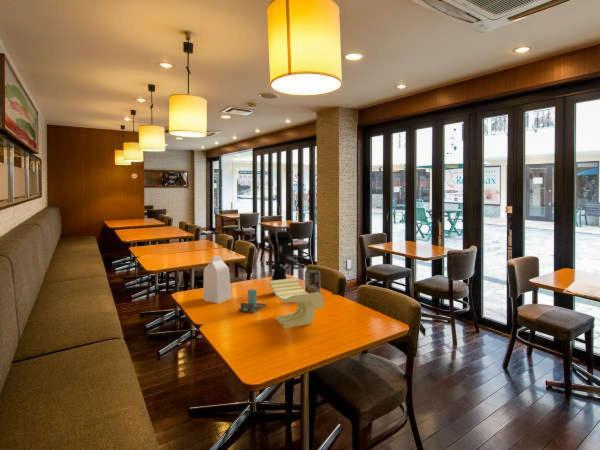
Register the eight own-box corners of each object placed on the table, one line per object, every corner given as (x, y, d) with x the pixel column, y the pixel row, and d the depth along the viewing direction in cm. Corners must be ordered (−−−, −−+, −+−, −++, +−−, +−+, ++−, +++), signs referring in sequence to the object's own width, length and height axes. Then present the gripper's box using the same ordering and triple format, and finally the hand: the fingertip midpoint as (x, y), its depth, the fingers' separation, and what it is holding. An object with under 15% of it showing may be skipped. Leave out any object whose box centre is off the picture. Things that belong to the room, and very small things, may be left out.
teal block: (250, 305, 204) (250, 289, 204) (256, 305, 203) (256, 289, 202) (241, 309, 196) (241, 293, 195) (248, 310, 195) (247, 294, 194)
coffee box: (320, 296, 226) (320, 270, 224) (320, 299, 219) (320, 272, 218) (305, 295, 226) (305, 269, 225) (304, 298, 220) (304, 272, 219)
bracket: (252, 303, 211) (251, 296, 211) (265, 305, 208) (265, 298, 207) (238, 311, 198) (238, 303, 198) (253, 313, 195) (253, 305, 194)
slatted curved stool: (323, 328, 172) (323, 291, 170) (292, 334, 166) (291, 295, 164) (297, 310, 199) (297, 277, 198) (269, 314, 193) (269, 280, 191)
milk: (217, 303, 213) (216, 258, 210) (203, 300, 218) (201, 257, 216) (231, 298, 223) (230, 255, 221) (217, 295, 229) (215, 254, 226)
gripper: (288, 256, 202) (289, 283, 204) (301, 250, 219) (302, 276, 221) (270, 254, 207) (271, 282, 208) (285, 249, 224) (285, 275, 225)
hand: (283, 278), depth 215 cm, fingers closed
